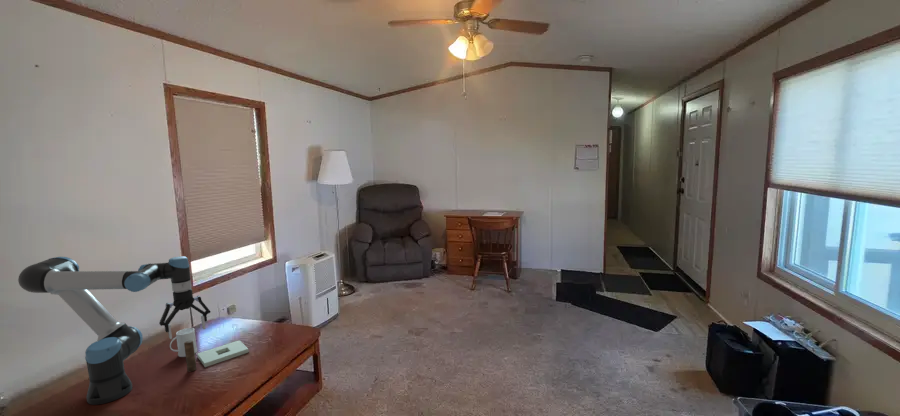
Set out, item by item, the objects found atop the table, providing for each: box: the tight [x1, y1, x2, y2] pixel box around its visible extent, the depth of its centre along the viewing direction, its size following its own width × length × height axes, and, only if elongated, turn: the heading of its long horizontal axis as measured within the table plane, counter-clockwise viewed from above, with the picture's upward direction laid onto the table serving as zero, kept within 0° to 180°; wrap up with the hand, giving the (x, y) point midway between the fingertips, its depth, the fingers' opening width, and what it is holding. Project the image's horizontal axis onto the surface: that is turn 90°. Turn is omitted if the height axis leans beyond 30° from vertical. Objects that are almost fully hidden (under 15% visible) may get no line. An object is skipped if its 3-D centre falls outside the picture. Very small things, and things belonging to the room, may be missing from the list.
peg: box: [184, 340, 197, 372], centre depth 193 cm, size 4×4×14 cm
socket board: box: [196, 339, 250, 368], centre depth 208 cm, size 20×14×2 cm
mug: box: [169, 327, 198, 358], centre depth 209 cm, size 12×8×12 cm
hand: (187, 333), depth 192 cm, fingers open, 13 cm apart
